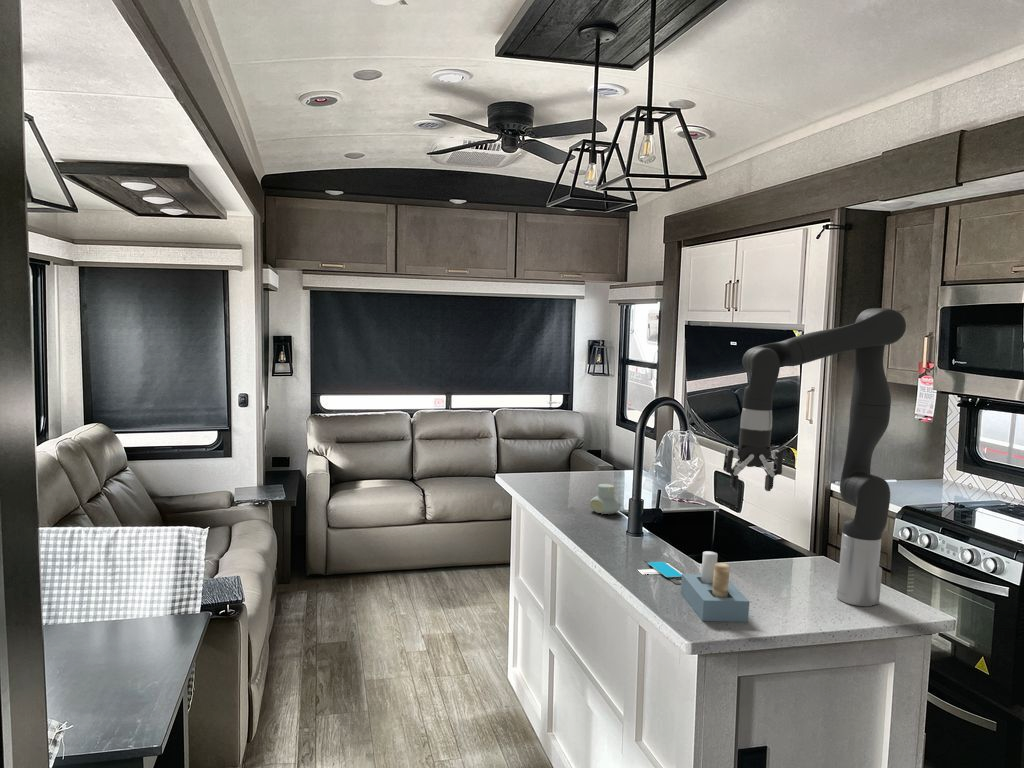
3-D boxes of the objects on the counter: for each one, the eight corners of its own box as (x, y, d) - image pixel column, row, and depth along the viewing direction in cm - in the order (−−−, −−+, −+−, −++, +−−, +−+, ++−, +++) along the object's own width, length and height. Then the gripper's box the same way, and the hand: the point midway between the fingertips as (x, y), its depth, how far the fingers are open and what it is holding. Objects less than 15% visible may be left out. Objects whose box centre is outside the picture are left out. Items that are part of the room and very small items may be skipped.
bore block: (722, 593, 196) (725, 548, 195) (747, 621, 178) (751, 572, 177) (680, 592, 196) (683, 547, 194) (702, 621, 178) (705, 571, 177)
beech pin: (723, 606, 184) (726, 563, 183) (728, 612, 181) (732, 568, 180) (709, 606, 184) (712, 562, 183) (713, 612, 181) (717, 568, 179)
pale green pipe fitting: (623, 515, 270) (625, 487, 269) (607, 517, 265) (608, 489, 264) (602, 507, 279) (604, 481, 278) (585, 510, 274) (587, 483, 273)
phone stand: (624, 562, 219) (624, 557, 219) (661, 561, 222) (662, 555, 222) (655, 587, 200) (656, 581, 200) (696, 585, 203) (696, 579, 203)
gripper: (777, 425, 194) (772, 487, 196) (723, 423, 193) (718, 485, 195) (789, 430, 187) (784, 494, 188) (733, 428, 186) (728, 492, 187)
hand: (750, 490), depth 191 cm, fingers open, 8 cm apart
